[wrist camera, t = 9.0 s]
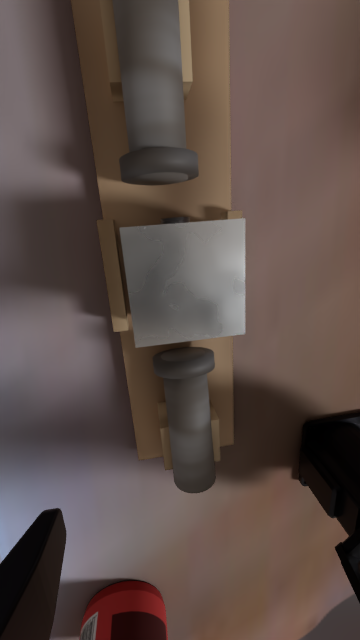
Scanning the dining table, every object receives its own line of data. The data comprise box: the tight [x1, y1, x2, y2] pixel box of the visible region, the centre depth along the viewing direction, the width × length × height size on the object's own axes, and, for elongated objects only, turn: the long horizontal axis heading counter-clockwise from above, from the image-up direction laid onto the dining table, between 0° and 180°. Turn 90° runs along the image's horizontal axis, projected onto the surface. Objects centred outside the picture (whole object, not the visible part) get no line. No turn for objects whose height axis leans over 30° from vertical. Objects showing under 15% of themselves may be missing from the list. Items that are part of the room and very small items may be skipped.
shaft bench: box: [71, 0, 242, 493], centre depth 15 cm, size 8×27×5 cm, turn 4°
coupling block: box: [119, 217, 245, 348], centre depth 14 cm, size 6×5×5 cm
